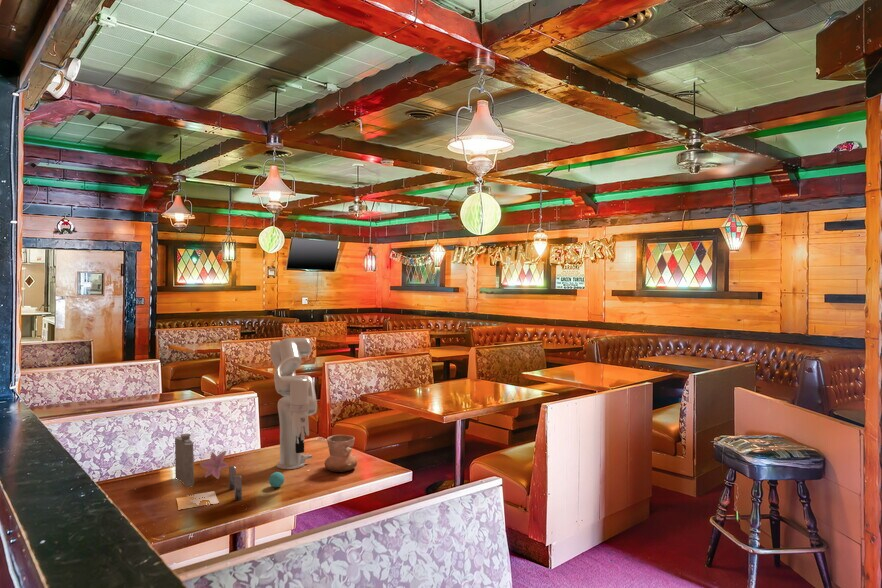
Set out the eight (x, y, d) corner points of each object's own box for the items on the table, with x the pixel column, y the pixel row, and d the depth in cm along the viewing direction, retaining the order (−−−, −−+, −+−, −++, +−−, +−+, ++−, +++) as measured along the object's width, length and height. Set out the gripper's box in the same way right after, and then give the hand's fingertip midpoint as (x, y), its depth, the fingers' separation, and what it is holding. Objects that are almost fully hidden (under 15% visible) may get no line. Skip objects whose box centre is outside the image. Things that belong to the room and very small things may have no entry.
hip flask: (174, 478, 242) (173, 431, 242) (184, 476, 245) (183, 429, 245) (186, 488, 230) (186, 439, 230) (197, 485, 233) (196, 437, 233)
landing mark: (214, 491, 226) (214, 491, 226) (218, 503, 214) (218, 502, 214) (175, 498, 219) (175, 497, 219) (178, 510, 207) (178, 510, 207)
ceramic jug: (364, 471, 250) (364, 438, 250) (334, 477, 242) (334, 444, 242) (345, 461, 265) (345, 431, 265) (316, 467, 256) (316, 436, 256)
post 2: (241, 497, 219) (240, 474, 219) (242, 500, 217) (242, 476, 217) (234, 499, 218) (233, 475, 218) (235, 501, 216) (234, 477, 216)
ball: (282, 483, 235) (282, 469, 235) (285, 487, 230) (285, 473, 230) (267, 485, 232) (267, 471, 232) (270, 490, 227) (270, 475, 227)
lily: (198, 476, 248) (193, 460, 243) (221, 459, 256) (217, 444, 251) (214, 489, 242) (210, 474, 237) (238, 472, 250) (234, 457, 245)
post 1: (235, 487, 231) (235, 465, 231) (236, 489, 229) (236, 467, 228) (228, 488, 230) (228, 466, 229) (229, 490, 227) (229, 468, 227)
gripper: (313, 410, 230) (313, 455, 230) (303, 404, 243) (304, 447, 243) (294, 412, 227) (295, 458, 226) (285, 406, 240) (286, 449, 240)
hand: (299, 452), depth 235 cm, fingers closed
